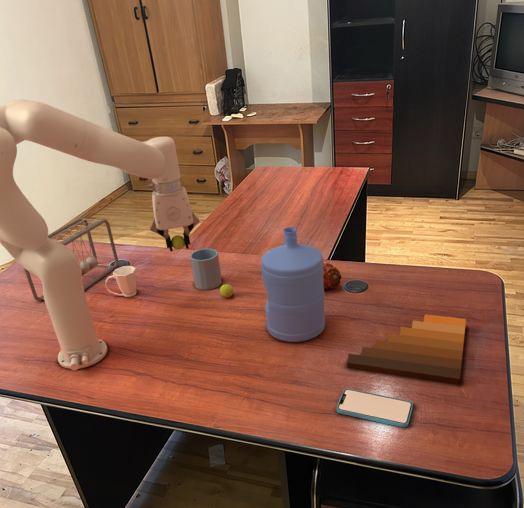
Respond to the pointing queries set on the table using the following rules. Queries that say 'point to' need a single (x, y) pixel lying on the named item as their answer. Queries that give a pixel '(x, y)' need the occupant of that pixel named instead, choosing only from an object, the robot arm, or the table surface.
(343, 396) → the smartphone
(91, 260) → the newton's cradle
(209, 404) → the table surface
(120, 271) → the cup
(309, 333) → the water jug
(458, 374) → the pan flute
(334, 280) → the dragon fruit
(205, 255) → the tumbler
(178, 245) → the plum
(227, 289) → the plum
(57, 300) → the robot arm
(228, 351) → the table surface
